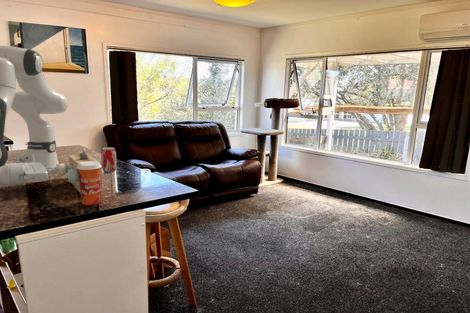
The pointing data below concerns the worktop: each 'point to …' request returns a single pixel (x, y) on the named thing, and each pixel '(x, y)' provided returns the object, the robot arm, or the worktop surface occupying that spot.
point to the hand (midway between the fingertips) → (57, 169)
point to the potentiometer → (83, 155)
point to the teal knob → (75, 175)
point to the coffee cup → (89, 182)
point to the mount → (74, 162)
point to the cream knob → (63, 169)
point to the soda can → (108, 159)
